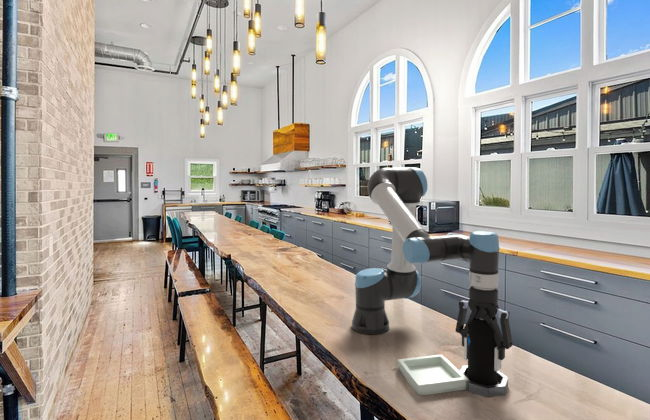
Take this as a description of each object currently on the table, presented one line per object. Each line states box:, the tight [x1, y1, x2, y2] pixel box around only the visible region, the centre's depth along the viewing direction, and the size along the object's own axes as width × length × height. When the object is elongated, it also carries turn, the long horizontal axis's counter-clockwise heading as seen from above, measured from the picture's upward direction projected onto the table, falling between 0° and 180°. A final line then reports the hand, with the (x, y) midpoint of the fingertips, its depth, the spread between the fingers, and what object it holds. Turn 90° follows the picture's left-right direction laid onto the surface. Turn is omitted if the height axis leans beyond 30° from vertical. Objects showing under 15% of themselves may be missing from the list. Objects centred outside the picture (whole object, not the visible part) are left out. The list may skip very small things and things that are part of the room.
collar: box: [459, 364, 509, 398], centre depth 104 cm, size 12×12×2 cm
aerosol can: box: [466, 318, 499, 386], centre depth 103 cm, size 8×8×20 cm
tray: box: [397, 353, 468, 397], centre depth 107 cm, size 15×15×3 cm
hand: (482, 363), depth 104 cm, fingers closed on aerosol can, 8 cm apart
